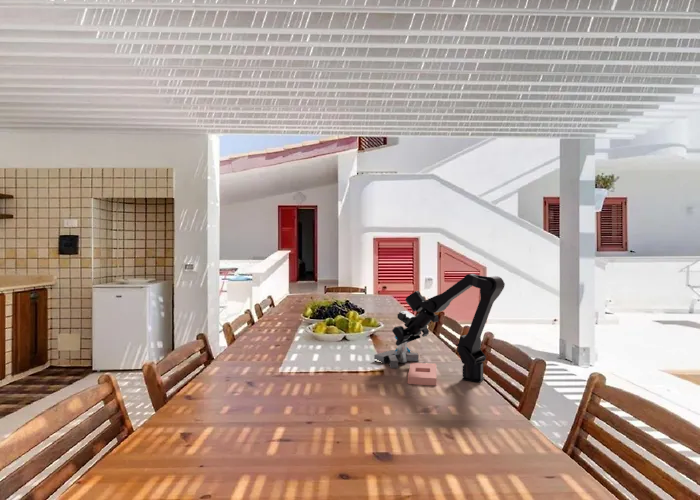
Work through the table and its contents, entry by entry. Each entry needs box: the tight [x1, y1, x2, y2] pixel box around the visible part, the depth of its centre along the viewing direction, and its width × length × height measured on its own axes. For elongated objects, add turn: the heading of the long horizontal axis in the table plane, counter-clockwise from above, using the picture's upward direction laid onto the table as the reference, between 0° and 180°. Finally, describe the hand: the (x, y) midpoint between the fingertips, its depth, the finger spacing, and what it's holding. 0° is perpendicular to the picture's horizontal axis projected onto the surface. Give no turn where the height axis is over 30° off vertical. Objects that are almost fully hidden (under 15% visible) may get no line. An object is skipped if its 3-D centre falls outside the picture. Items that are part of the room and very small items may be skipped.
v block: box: [373, 349, 420, 369], centre depth 189 cm, size 13×18×3 cm
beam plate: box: [407, 362, 437, 386], centre depth 167 cm, size 20×10×2 cm, turn 169°
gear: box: [394, 335, 411, 353], centre depth 207 cm, size 11×6×10 cm
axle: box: [396, 342, 408, 363], centre depth 186 cm, size 4×4×13 cm
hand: (399, 343), depth 187 cm, fingers closed on axle, 4 cm apart
